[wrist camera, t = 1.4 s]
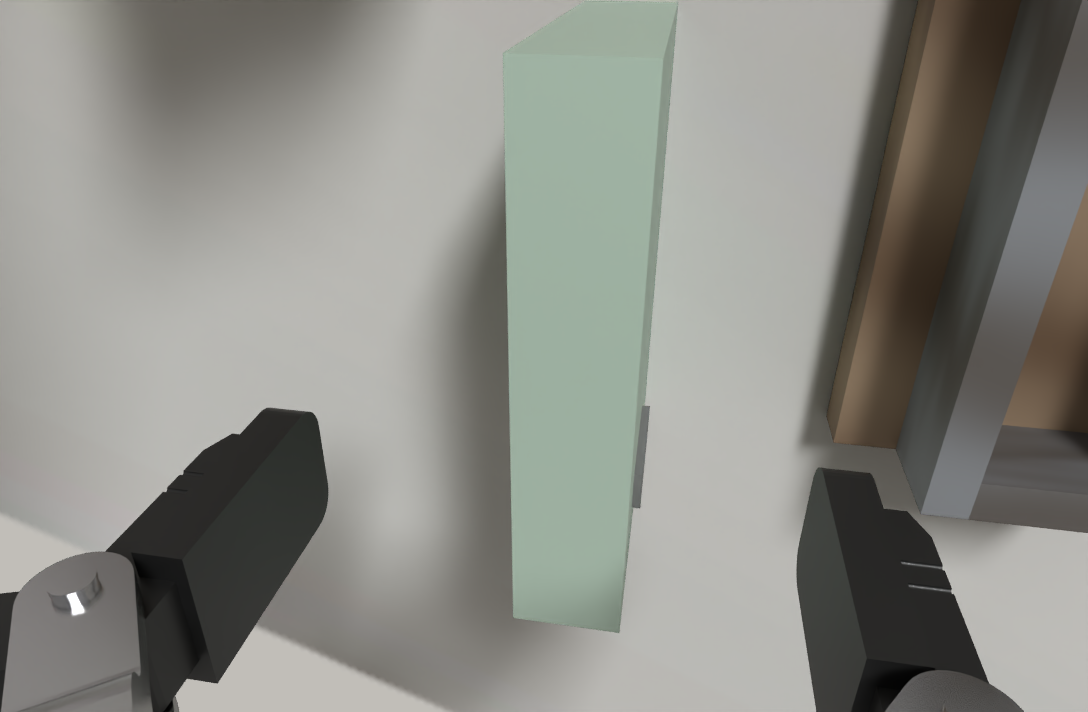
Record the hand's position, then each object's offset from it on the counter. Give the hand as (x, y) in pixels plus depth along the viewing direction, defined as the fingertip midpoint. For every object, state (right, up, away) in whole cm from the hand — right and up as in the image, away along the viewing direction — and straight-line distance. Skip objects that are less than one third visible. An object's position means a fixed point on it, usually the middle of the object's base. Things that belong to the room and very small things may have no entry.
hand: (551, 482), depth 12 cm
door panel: (+2, +6, +11) cm, 12 cm away
